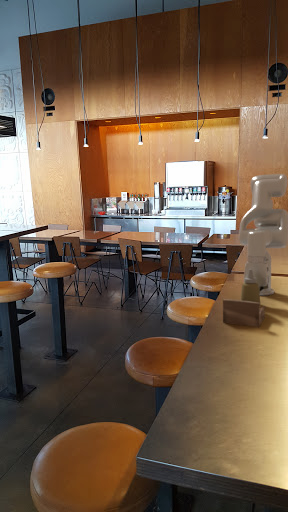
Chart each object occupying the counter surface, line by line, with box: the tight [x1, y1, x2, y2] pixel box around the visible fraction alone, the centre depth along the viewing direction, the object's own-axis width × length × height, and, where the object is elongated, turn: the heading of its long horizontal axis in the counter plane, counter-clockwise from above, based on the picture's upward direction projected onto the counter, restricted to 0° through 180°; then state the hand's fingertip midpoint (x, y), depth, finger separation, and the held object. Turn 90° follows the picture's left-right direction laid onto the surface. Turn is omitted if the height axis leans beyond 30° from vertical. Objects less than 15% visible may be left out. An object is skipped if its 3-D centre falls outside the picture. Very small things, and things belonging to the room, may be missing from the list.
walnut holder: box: [222, 298, 266, 328], centre depth 141 cm, size 11×13×9 cm
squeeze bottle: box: [240, 269, 261, 304], centre depth 150 cm, size 8×8×18 cm
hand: (255, 300), depth 160 cm, fingers closed
